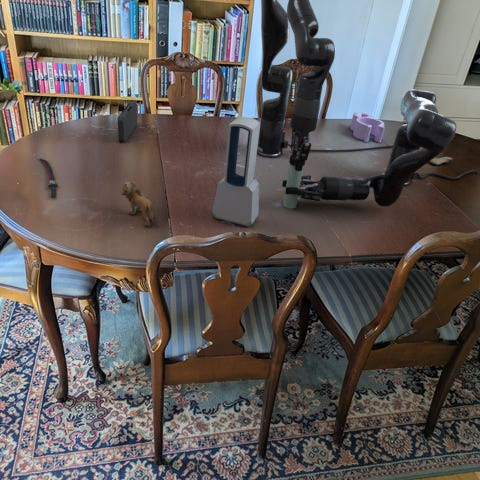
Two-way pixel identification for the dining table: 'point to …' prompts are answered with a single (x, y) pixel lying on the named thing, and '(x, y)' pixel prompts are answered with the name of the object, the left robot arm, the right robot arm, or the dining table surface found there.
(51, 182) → the sword
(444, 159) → the jawbone
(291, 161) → the lid
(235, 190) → the electronic device
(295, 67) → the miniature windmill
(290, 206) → the pale green tube
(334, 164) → the dining table surface
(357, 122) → the clip
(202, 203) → the dining table surface
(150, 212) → the lion figurine
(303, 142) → the left robot arm
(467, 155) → the dining table surface
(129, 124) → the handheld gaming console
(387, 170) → the right robot arm
